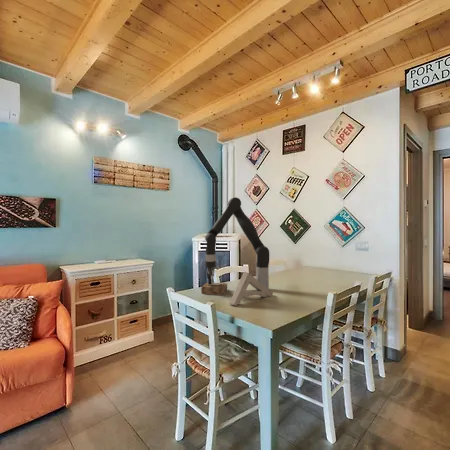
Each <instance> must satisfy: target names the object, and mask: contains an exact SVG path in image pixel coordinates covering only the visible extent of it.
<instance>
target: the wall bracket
mask: <svg viewBox="0 0 450 450" xmlns="http://www.w3.org/2000/svg"><path fill="white" fill-rule="evenodd" d="M249 285H250V286H251V287H253V288H254V289H248V286H249ZM273 294H274V292H273V291H271V290H270V288H269V289H268V288H266V287H265V286H264V285H263V284H262V283H260V282H259V281H258V280H257V279H256V277H255V276H253V275H252V274H251V273H250V272H246V271H243V273H242V275H241V277H240V279H239V281H238V283H237V286H236V288H235V290H234V293H233V295H232V297H231V299H230V301H229V305H231V306H234V307H237V306H238V305H239V304H241V302H242V300H243V298H244V299H246V298H249V297H250V296H251V297H252V296H259V297H263V298H268V297H270V296H273Z"/></svg>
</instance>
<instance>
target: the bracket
mask: <svg viewBox="0 0 450 450" xmlns="http://www.w3.org/2000/svg"><path fill="white" fill-rule="evenodd" d="M209 277H210V276H209ZM219 283H220V282H214V277H213V274H212V284H209V286H221V284H219Z"/></svg>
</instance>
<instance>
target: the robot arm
mask: <svg viewBox="0 0 450 450" xmlns="http://www.w3.org/2000/svg"><path fill="white" fill-rule="evenodd" d="M241 206H242V201H241V199H240V198H239V197H232V198H230V199H229V200H228V201H227V207H226V209H225V210H224V212H223V213H222V214H221V215H220V216H219V217H218V219H217V220H216V221H215V223H214V224H213V226H212V227H211V228H210V230H208V232H207V233H206V235H205V236H204V237H205V238H204V239H205V242H206V248H205V267H206V268H207V271H206V278H207V280H208V281H207V282H208V284H212V274H213V278H214V277H215V267H216V265H217V262H216V261H217V260H216V259H217V257H216V245H217V236H218V235H219V234H220V233H221V232H222V231H223V229H224V228H225V226H226V225H227V224H228V222H229V220H230V219H231V217H233V215H234V217H235V219H236V221H237V223H238V224H239V227H240V228H241V230H242V232H243V234H244V236H246V238H247V240H248V241H249V242H250V244H251V245H252V247H253V250H254V253H255V255H256V272H255V273H256V277H255V278H256V279H257V280H258V281H259V282H260V283H262V284H263V285H264V286H265V287H266V288H268V289H269V290H270V287H269V286H270V283H269V282H270V281H269V280H270V279H269V278H270V275H269V272H270V271H269V265H270V250H269V248H268V247H267V246H265V244H264V243H263V242H262V240H261V239H260V236H259V234H258V232H257V231H258V230H257V228H256V227H255V225H254V223H253V222H252V220H251V219H250V218H249V217H248V216H247V215H246V214H245V212H244V210H243V209H242V207H241ZM209 276H210V277H209Z"/></svg>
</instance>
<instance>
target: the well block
mask: <svg viewBox="0 0 450 450" xmlns="http://www.w3.org/2000/svg"><path fill="white" fill-rule="evenodd" d="M218 283H219V284H221V286H209V284H208V281H207V282H206V283H204V284H203V285H201V287H200V288H201V290H200V291H201V295H217V296H218V295H220V296H222V295H225V294H226V292H227V291H228V283H226V282H218Z"/></svg>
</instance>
